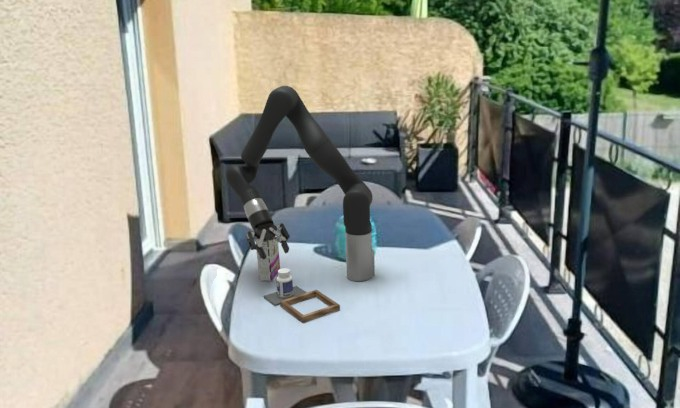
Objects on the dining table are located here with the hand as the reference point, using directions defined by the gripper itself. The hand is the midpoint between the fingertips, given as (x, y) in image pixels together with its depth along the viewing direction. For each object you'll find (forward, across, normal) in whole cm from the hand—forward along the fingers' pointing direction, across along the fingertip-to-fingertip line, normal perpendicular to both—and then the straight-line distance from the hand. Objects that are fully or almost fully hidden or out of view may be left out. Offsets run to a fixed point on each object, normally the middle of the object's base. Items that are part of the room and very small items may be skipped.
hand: (276, 255), depth 217 cm
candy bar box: (0, +4, +19) cm, 20 cm away
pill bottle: (+13, 0, +6) cm, 14 cm away
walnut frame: (+22, +2, -3) cm, 22 cm away
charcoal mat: (+13, 0, +6) cm, 14 cm away
